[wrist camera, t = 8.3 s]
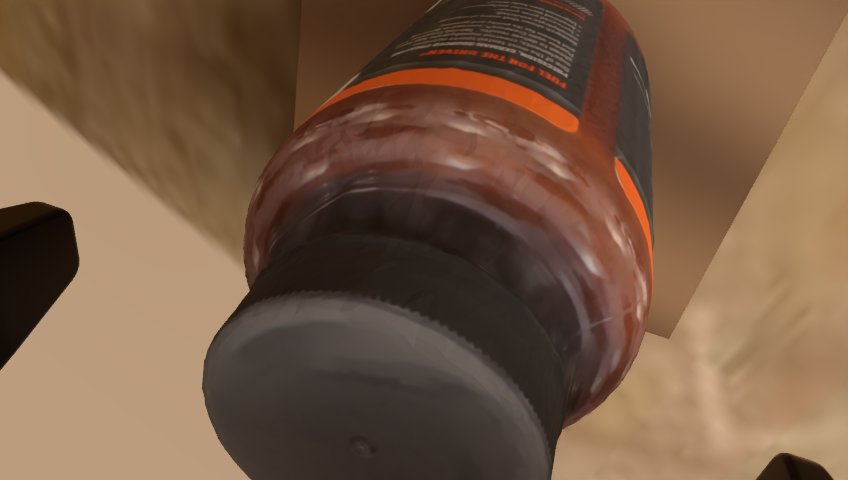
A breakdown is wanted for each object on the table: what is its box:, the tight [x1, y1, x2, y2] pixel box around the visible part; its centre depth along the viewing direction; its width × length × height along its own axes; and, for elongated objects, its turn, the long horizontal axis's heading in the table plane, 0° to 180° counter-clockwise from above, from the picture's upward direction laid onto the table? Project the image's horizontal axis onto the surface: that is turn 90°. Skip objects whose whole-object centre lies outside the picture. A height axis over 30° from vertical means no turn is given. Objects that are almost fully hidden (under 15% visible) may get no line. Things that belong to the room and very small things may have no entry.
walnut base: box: [293, 0, 848, 339], centre depth 16 cm, size 12×12×1 cm
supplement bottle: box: [202, 0, 654, 480], centre depth 11 cm, size 6×6×11 cm
